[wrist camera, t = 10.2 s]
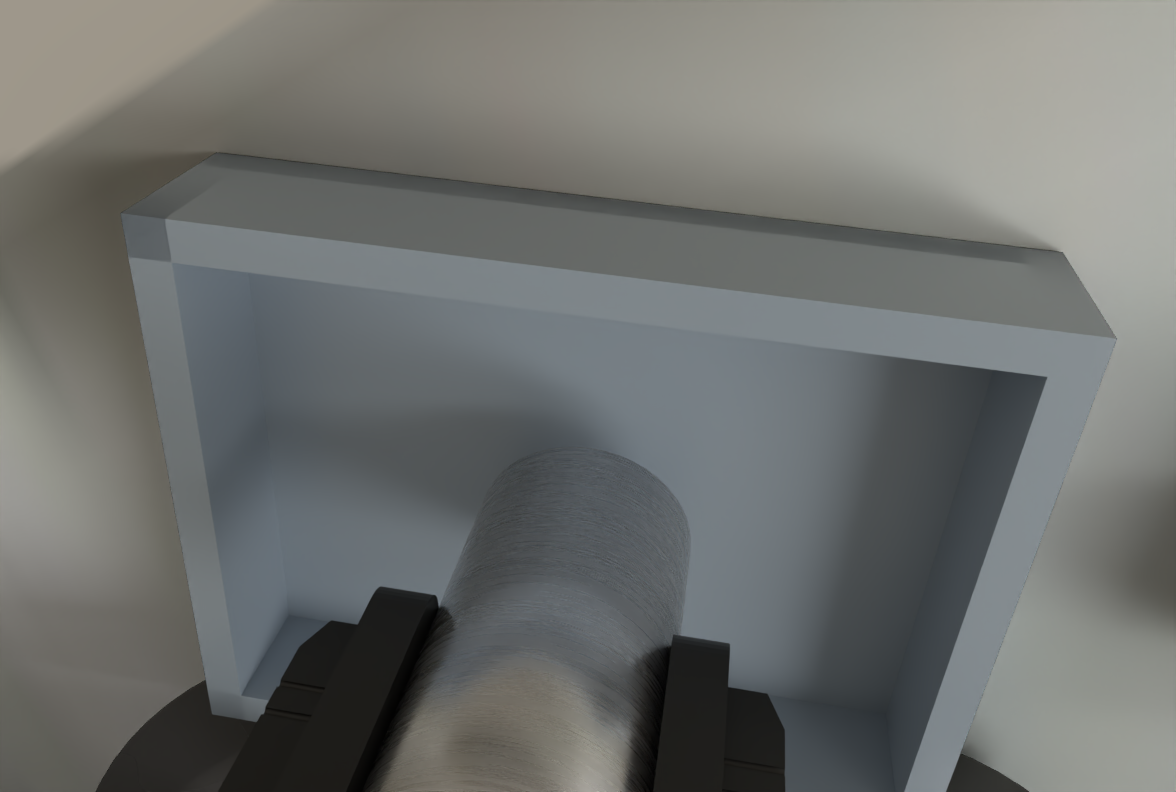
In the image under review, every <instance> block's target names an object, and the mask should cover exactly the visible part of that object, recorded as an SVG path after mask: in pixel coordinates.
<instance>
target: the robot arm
mask: <svg viewBox="0 0 1176 792" xmlns="http://www.w3.org/2000/svg"><path fill="white" fill-rule="evenodd" d="M438 608H439V604H438V599H437V596H436V595H432V594H426V593H419V592H413V591H407V590H401V589H395V588H389V587H382V586H380V587H378V588H377V589H376V591H375V592H374V594H373V595H372V597H371V599H370V601H369V603H368V605H367V607H366V609H365V611H364V613H363V615H362V617H361V619H360V621H359V623H358V625H357V624H351V623H345V622H339V621H333V620H331V621H330V622H328V623H327V624H326V625H325V626H324V627H322V628H321V629H320V630H319V631H318V632H316V633H315V634H314V635H313V636H311V637H310V638H309V639H308V640H307V641H305V642H304V643H303V644H302V645H301V646H299V648H298V650H297V651H296V653H295V655H294V657H293V659H292V660H291V662H290V664H289V666H288V667H287V669H286V671H285V673H284V675H283V676H282V678H281V681H280V685H279V687H276V689H275V691H274V692H273V694H272V696H271V698H270V699H269V701H268V703H267V705H266V707H265V712H264V714H261V716H260V717H259V719H258V721H257V723H256V724H255V726H254V728H253V730H252V732H251V733H250V735H249V737H248V739H247V740H246V742H245V744H244V746H243V748H242V749H241V751H240V753H239V755H238V756H237V758H236V760H235V762H234V764H233V765H232V767H231V769H230V771H229V772H228V774H227V776H226V778H225V780H224V781H223V783H222V785H221V787H220V788H219V790H218V792H362V790H363V787H364V785H365V783H366V780H367V778H368V775H369V773H370V771H371V768H372V766H373V764H374V761H375V759H376V756H377V754H378V752H379V749H380V747H381V744H382V742H383V740H384V737H385V735H386V732H387V730H388V728H389V725H390V723H391V721H392V718H393V716H394V713H395V711H396V709H397V706H398V704H399V701H400V699H401V697H402V694H403V692H404V689H405V687H406V685H407V682H408V680H409V678H410V675H411V673H412V670H413V668H414V666H415V663H416V661H417V658H418V656H419V654H420V651H421V649H422V646H423V644H424V642H425V639H426V637H427V635H428V632H429V630H430V627H431V625H432V623H433V620H434V618H435V615H436V613H437V611H438ZM729 661H730V643H724V642H718V641H712V640H705V639H699V638H693V637H687V636H681V635H675V634H673V637H672V643H671V650H670V658H669V666H668V674H667V682H666V690H665V698H664V706H663V713H662V721H661V729H660V737H659V745H658V753H657V761H656V769H655V777H654V785H653V792H785V776H784V775H785V729H784V727H783V725H782V723H781V721H780V719H779V716H778V714H777V712H776V710H775V708H774V706H773V704H772V702H771V700H770V698H769V696H768V694H767V693H761V692H755V691H749V690H743V689H737V688H731V687H728V678H729Z"/></svg>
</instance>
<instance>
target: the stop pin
mask: <svg viewBox="0 0 1176 792" xmlns="http://www.w3.org/2000/svg"><path fill="white" fill-rule="evenodd" d="M690 551H691V535H690V528H689V525H688V521H687V518H686V515H685V513H684V511H683V508H682V507H681V505H680V503H679V502H678V500H677V498H676V497H675V496H674V494H673V493H672V492H671V491H670V489H669V488H668V487H667V486H666V485H665V484H664V483H663V482H662V481H661V480H660V479H659V478H658V477H656V476H655V475H654V474H652V473H651V472H650V471H648V470H647V469H646V468H644V467H642V466H641V465H639V464H637V463H635V462H634V461H631V460H629V459H627V458H625V457H622V456H620V455H617V454H614V453H611V452H608V451H604V450H599V449H594V448H586V447H559V448H551V449H546V450H542V451H539V452H535V453H533V454H530V455H528V456H525V457H523V458H521V459H519V460H518V461H516V462H514V463H512V464H511V465H510V466H509V467H507V468H506V469H505V470H503V471H502V472H501V473H500V475H499V476H498V477H497V478H496V479H495V480H494V481H493V483H492V484H491V486H490V487H489V489H488V491H487V493H486V495H485V498H484V500H483V502H482V505H481V507H480V509H479V512H478V514H477V517H476V519H475V521H474V524H473V526H472V529H471V531H470V533H469V536H468V538H467V540H466V543H465V545H464V548H463V550H462V552H461V555H460V557H459V560H458V562H457V564H456V567H455V569H454V571H453V574H452V576H451V579H450V581H449V583H448V586H447V588H446V591H445V593H444V595H443V598H442V600H441V602H440V605H439V608H438V611H437V613H436V615H435V618H434V620H433V623H432V625H431V627H430V630H429V632H428V635H427V637H426V639H425V642H424V644H423V646H422V649H421V651H420V654H419V656H418V658H417V661H416V663H415V666H414V668H413V670H412V673H411V675H410V678H409V680H408V682H407V685H406V687H405V689H404V692H403V694H402V697H401V699H400V701H399V704H398V706H397V709H396V711H395V713H394V716H393V718H392V721H391V723H390V725H389V728H388V730H387V732H386V735H385V737H384V740H383V742H382V744H381V747H380V749H379V752H378V754H377V756H376V759H375V761H374V764H373V766H372V768H371V771H370V773H369V775H368V778H367V780H366V783H365V785H364V787H363V790H362V792H653V785H654V777H655V769H656V761H657V753H658V745H659V737H660V729H661V721H662V713H663V706H664V698H665V690H666V682H667V674H668V666H669V658H670V650H671V643H672V637H673V634H675V635H681V629H682V621H683V612H684V604H685V595H686V586H687V578H688V569H689V560H690Z"/></svg>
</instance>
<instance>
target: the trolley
mask: <svg viewBox="0 0 1176 792" xmlns="http://www.w3.org/2000/svg"><path fill="white" fill-rule="evenodd" d="M256 723H257V722H253V721H247V720H242V719H236V718H230V717H225V716H219V715H214V714H212V711H211V706H210V700H209V695H208V689H207V684H206V680H205V681H203V682H201V683H199V684H198V685H196V686H194V687H192V688H190V689H189V690H187V691H186V692H185V693H183V694H182V695H180V696H179V697H177V698H176V699H174V700H173V701H172V702H170V703H169V704H167V705H166V706H165V707H164V708H163V709H161V710H160V711H159V712H158V713H157V714H156V715H154V716H153V717H152V718H151V719H150V720H148V721H147V722H146V723H145V724H144V725H143V727H142V728H141V729H140V730H139V731H138V732H137V733H136V734H135V735H134V736H133V737H132V738H131V739H130V740H129V741H128V742H127V744H126V745H125V746H124V748H123V749H122V750H121V752H120V753H119V754H118V755H117V757H116V758H115V759H114V761H113V762H112V764H111V765H110V767H109V769H108V770H107V772H106V774H105V775H104V777H103V779H102V780H101V782H100V784H99V786H98V788H97V790H96V792H218V790H219V788H220V787H221V785H222V783H223V781H224V780H225V778H226V776H227V774H228V772H229V771H230V769H231V767H232V765H233V764H234V762H235V760H236V758H237V756H238V755H239V753H240V751H241V749H242V748H243V746H244V744H245V742H246V740H247V739H248V737H249V735H250V733H251V732H252V730H253V728H254V726H255V724H256ZM946 792H1029V791H1028V790H1026V789H1025V788H1023V787H1022V786H1020V785H1019V784H1017V783H1016V782H1014V781H1012V780H1011V779H1009V778H1008V777H1006V776H1004V775H1003V774H1001V773H1000V772H998V771H996V770H994V769H992V768H990V767H988V766H986V765H984V764H982V763H980V762H978V761H976V760H974V759H972V758H970V757H967V756H965V755H963V754H960V756H959V758H958V761H957V764H956V766H955V769H954V772H953V774H952V777H951V780H950V782H949V785H948V788H947V790H946Z"/></svg>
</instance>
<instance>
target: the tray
mask: <svg viewBox="0 0 1176 792" xmlns="http://www.w3.org/2000/svg"><path fill="white" fill-rule="evenodd" d="M120 214H121V220H122V225H123V231H124V236H125V241H126V247H127V252H128V258H129V263H130V269H131V274H132V280H133V285H134V291H135V296H136V302H137V307H138V312H139V318H140V323H141V329H142V334H143V340H144V345H145V351H146V356H147V362H148V367H149V373H150V378H151V383H152V389H153V394H154V400H155V405H156V411H157V416H158V422H159V427H160V433H161V438H162V444H163V449H164V454H165V460H166V465H167V471H168V476H169V482H170V487H171V493H172V498H173V504H174V509H175V515H176V520H177V525H178V531H179V536H180V542H181V547H182V553H183V558H184V564H185V569H186V575H187V580H188V586H189V591H190V596H191V602H192V607H193V613H194V618H195V624H196V629H197V635H198V640H199V646H200V651H201V657H202V662H203V667H204V673H205V678H206V684H207V689H208V695H209V700H210V706H211V711H212V714H214V715H219V716H225V717H230V718H236V719H242V720H247V721H253V722H257V721H258V719H259V717H260V716H261V714H264V712H265V707H266V705H267V703H268V701H269V699H270V698H271V696H272V694H273V692H274V691H275V689H276V687H279V685H280V681H281V678H282V676H283V675H284V673H285V671H286V669H287V667H288V666H289V664H290V662H291V660H292V659H293V657H294V655H295V653H296V651H297V650H298V648H299V646H301V645H302V644H303V643H304V642H305V641H307V640H308V639H309V638H310V637H311V636H313V635H314V634H315V633H316V632H318V631H319V630H320V629H321V628H322V627H324V626H325V625H326V624H327V623H328V622H330V621H331V620H333V621H339V622H345V623H351V624H357V625H358V623H359V621H360V619H361V617H362V615H363V613H364V611H365V609H366V607H367V605H368V603H369V601H370V599H371V597H372V595H373V594H374V592H375V591H376V589H377V588H378V587H380V586H382V587H389V588H395V589H401V590H407V591H413V592H419V593H426V594H432V595H436V596H437V599H438V604H439V605H440V602H441V600H442V598H443V595H444V593H445V591H446V588H447V586H448V583H449V581H450V579H451V576H452V574H453V571H454V569H455V567H456V564H457V562H458V560H459V557H460V555H461V552H462V550H463V548H464V545H465V543H466V540H467V538H468V536H469V533H470V531H471V529H472V526H473V524H474V521H475V519H476V517H477V514H478V512H479V509H480V507H481V505H482V502H483V500H484V498H485V495H486V493H487V491H488V489H489V487H490V486H491V484H492V483H493V481H494V480H495V479H496V478H497V477H498V476H499V475H500V473H501V472H502V471H503V470H505V469H506V468H507V467H509V466H510V465H511V464H512V463H514V462H516V461H518V460H519V459H521V458H523V457H525V456H528V455H530V454H533V453H535V452H539V451H542V450H546V449H551V448H559V447H586V448H594V449H599V450H604V451H608V452H611V453H614V454H617V455H620V456H622V457H625V458H627V459H629V460H631V461H634V462H635V463H637V464H639V465H641V466H642V467H644V468H646V469H647V470H648V471H650V472H651V473H652V474H654V475H655V476H656V477H658V478H659V479H660V480H661V481H662V482H663V483H664V484H665V485H666V486H667V487H668V488H669V489H670V491H671V492H672V493H673V494H674V496H675V497H676V498H677V500H678V502H679V503H680V505H681V507H682V508H683V511H684V513H685V515H686V518H687V521H688V525H689V528H690V535H691V551H690V560H689V569H688V578H687V586H686V595H685V604H684V612H683V621H682V629H681V636H687V637H693V638H699V639H705V640H712V641H718V642H724V643H730V661H729V678H728V687H731V688H737V689H743V690H749V691H755V692H761V693H767V694H768V696H769V698H770V700H771V702H772V704H773V706H774V708H775V710H776V712H777V714H778V716H779V719H780V721H781V723H782V725H783V727H784V729H785V775H784V776H785V792H946V790H947V788H948V785H949V782H950V780H951V777H952V774H953V772H954V769H955V766H956V764H957V761H958V758H959V756H960V753H961V750H962V748H963V745H964V743H965V740H966V737H967V735H968V732H969V729H970V727H971V724H972V721H973V719H974V716H975V713H976V711H977V708H978V706H979V703H980V700H981V698H982V695H983V692H984V690H985V687H986V684H987V682H988V679H989V676H990V674H991V671H992V668H993V666H994V663H995V661H996V658H997V655H998V653H999V650H1000V647H1001V645H1002V642H1003V639H1004V637H1005V634H1006V631H1007V629H1008V626H1009V624H1010V621H1011V618H1012V616H1013V613H1014V610H1015V608H1016V605H1017V602H1018V600H1019V597H1020V594H1021V592H1022V589H1023V586H1024V584H1025V581H1026V579H1027V576H1028V573H1029V571H1030V568H1031V565H1032V563H1033V560H1034V557H1035V555H1036V552H1037V549H1038V547H1039V544H1040V542H1041V539H1042V536H1043V534H1044V531H1045V528H1046V526H1047V523H1048V520H1049V518H1050V515H1051V512H1052V510H1053V507H1054V504H1055V502H1056V499H1057V497H1058V494H1059V491H1060V489H1061V486H1062V483H1063V481H1064V478H1065V475H1066V473H1067V470H1068V467H1069V465H1070V462H1071V460H1072V457H1073V454H1074V452H1075V449H1076V446H1077V444H1078V441H1079V438H1080V436H1081V433H1082V430H1083V428H1084V425H1085V422H1086V420H1087V417H1088V415H1089V412H1090V409H1091V407H1092V404H1093V401H1094V399H1095V396H1096V393H1097V391H1098V388H1099V385H1100V383H1101V380H1102V378H1103V375H1104V372H1105V370H1106V367H1107V364H1108V362H1109V359H1110V356H1111V354H1112V351H1113V348H1114V346H1115V343H1116V340H1117V338H1116V336H1115V335H1114V333H1113V331H1112V330H1111V328H1110V327H1109V325H1108V323H1107V322H1106V320H1105V319H1104V317H1103V316H1102V314H1101V312H1100V311H1099V309H1098V308H1097V306H1096V304H1095V303H1094V301H1093V300H1092V298H1091V296H1090V295H1089V293H1088V292H1087V290H1086V289H1085V287H1084V285H1083V284H1082V282H1081V281H1080V279H1079V277H1078V276H1077V274H1076V273H1075V271H1074V269H1073V268H1072V266H1071V265H1070V263H1069V262H1068V260H1067V258H1066V257H1065V255H1064V254H1063V252H1055V251H1047V250H1038V249H1030V248H1021V247H1013V246H1004V245H996V244H987V243H979V242H970V241H962V240H953V239H945V238H936V237H928V236H920V235H911V234H903V233H894V232H886V231H877V230H869V229H860V228H852V227H843V226H835V225H826V224H818V223H809V222H801V221H792V220H784V219H776V218H767V217H759V216H750V215H742V214H733V213H725V212H716V211H708V210H699V209H691V208H682V207H674V206H665V205H657V204H648V203H640V202H631V201H623V200H615V199H606V198H598V197H589V196H581V195H572V194H564V193H555V192H547V191H538V190H530V189H521V188H513V187H504V186H496V185H487V184H479V183H470V182H462V181H454V180H445V179H437V178H428V177H420V176H411V175H403V174H394V173H386V172H377V171H369V170H360V169H352V168H343V167H335V166H326V165H318V164H309V163H301V162H293V161H284V160H276V159H267V158H259V157H250V156H242V155H233V154H225V153H215V154H213V155H212V156H210V157H209V158H207V159H205V160H204V161H202V162H201V163H199V164H197V165H196V166H194V167H193V168H191V169H190V170H188V171H186V172H185V173H183V174H182V175H180V176H179V177H177V178H175V179H174V180H172V181H171V182H169V183H167V184H166V185H164V186H163V187H161V188H160V189H158V190H156V191H155V192H153V193H152V194H150V195H149V196H147V197H145V198H144V199H142V200H141V201H139V202H138V203H136V204H134V205H133V206H131V207H130V208H128V209H126V210H125V211H123V212H122V213H120Z"/></svg>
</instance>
